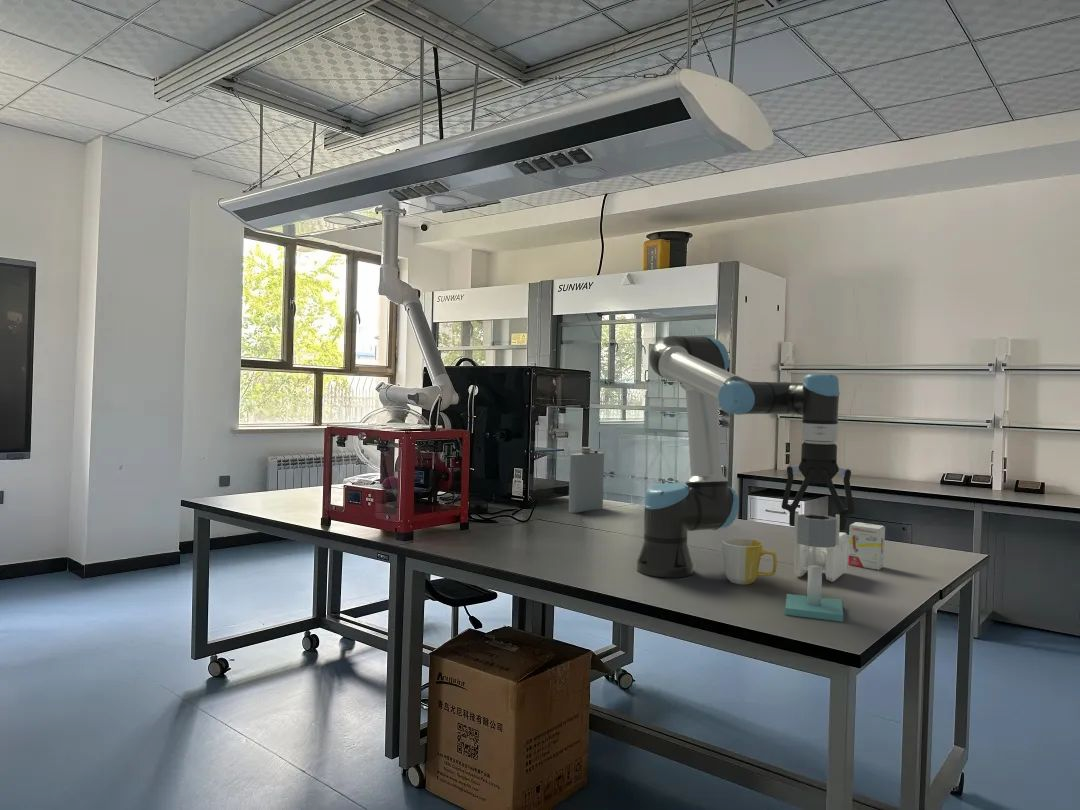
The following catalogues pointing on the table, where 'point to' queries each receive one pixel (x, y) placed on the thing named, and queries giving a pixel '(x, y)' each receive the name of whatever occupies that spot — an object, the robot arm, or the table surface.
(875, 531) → the ink box
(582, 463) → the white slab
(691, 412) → the robot arm
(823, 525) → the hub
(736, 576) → the mug
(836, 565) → the cable organizer
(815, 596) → the shaft block
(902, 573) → the table surface
